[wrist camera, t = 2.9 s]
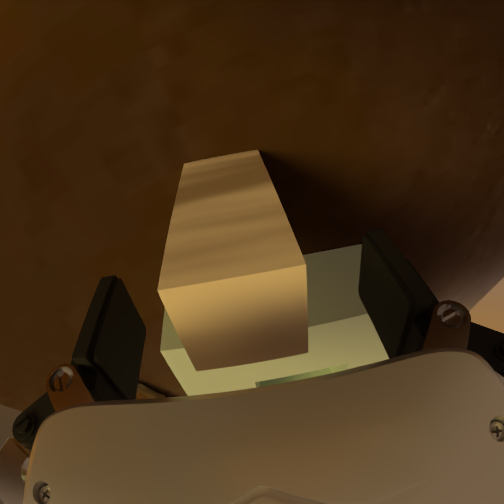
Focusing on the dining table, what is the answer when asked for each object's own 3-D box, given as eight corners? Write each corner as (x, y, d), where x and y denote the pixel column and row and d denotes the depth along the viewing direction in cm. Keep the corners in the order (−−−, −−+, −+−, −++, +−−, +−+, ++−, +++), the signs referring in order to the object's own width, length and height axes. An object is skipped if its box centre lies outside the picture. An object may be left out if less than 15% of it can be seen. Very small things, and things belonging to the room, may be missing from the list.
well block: (168, 279, 21) (160, 351, 16) (384, 239, 21) (426, 297, 16) (217, 389, 29) (221, 443, 25) (363, 360, 30) (381, 409, 25)
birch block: (184, 163, 16) (157, 290, 8) (257, 149, 16) (306, 264, 8) (200, 225, 19) (196, 371, 11) (266, 213, 19) (308, 352, 11)
